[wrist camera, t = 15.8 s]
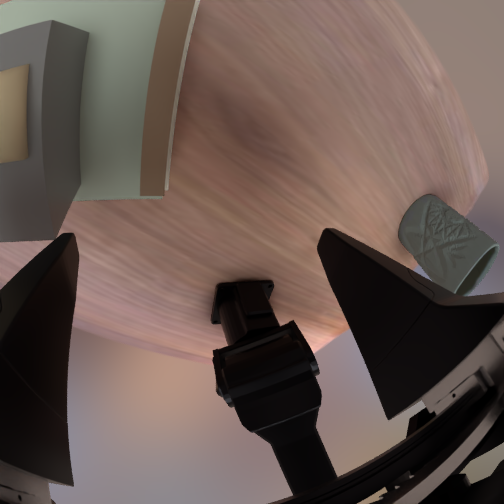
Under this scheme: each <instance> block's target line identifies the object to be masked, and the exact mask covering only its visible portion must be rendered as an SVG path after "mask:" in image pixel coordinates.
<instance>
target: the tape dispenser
mask: <svg viewBox="0 0 504 504" xmlns="http://www.w3.org/2000/svg"><path fill="white" fill-rule="evenodd" d="M88 37H89V32H87V31H84V30H81V29H79V28H76V27H73V26H70V25H67V24H64V23H61V22H58V21H55V20H48V21H44V22H40V23H36V24H32V25H28V26H25V27H21V28H18V29H15V30H12V31H8V32H6V33H3V34H0V242H17V241H41V240H55V239H56V237H57V235H58V232H59V230H60V228H61V225H62V223H63V221H64V219H65V216H66V214H67V212H68V210H69V208H70V205H71V203H72V201H73V199H74V197H75V195H76V193H77V191H78V189H79V187H80V185H81V173H80V104H81V90H82V79H83V70H84V62H85V55H86V49H87V43H88Z"/></svg>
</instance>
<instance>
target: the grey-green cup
mask: <svg viewBox="0 0 504 504" xmlns="http://www.w3.org/2000/svg"><path fill="white" fill-rule="evenodd" d="M399 239H400V241H401V243H402V244H403V245H404V247H405V248H406V249H407V250H408V251H409V253H411V254H412V255H413V256H414V259H415V260H417V263H418V264H419V265H420V266H421V267H422V269H423V270H424V271H425V273H426V274H427V275H428V276H429V278H430V279H431V280H432V281H433V282H434V283H436V284H438V285H440V286H442V287H444V288H445V289H447V290H449V291H451V292H453V293H455V294H457V295H460V296H468V295H469V294H470V293H471V292H472V291H473V290H474V289H475V288H476V287H477V285H478V284H479V283H480V282H481V281H482V279H483V278H484V277H485V275H486V274H487V273H488V271H489V269H490V268H491V266H492V264H493V263H494V261H495V259H496V257H497V254H498V251H499V244H498V243H497V242H496V241H494V240H493V239H492V238H491V237H490V236H488V235H487V234H486V233H484V232H483V231H480V230H479V228H478V227H477V226H475V225H474V224H473V223H472V222H470V221H469V220H468V219H465V218H464V216H462V215H460V214H459V213H458V212H457V211H456V210H454V209H453V208H451V207H450V206H448V205H447V204H446V203H444V202H443V201H442V200H440V199H439V198H438V197H436V196H434V195H431V194H430V195H429V194H428V195H424V196H422V197H421V198H419V199H418V200H416V201H415V202H414V203H413V204H412V205H411V206H410V208H409V209H408V210H407V212H406V213H405V215H404V217H403V219H402V221H401V224H400V227H399Z"/></svg>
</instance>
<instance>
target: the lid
mask: <svg viewBox="0 0 504 504" xmlns="http://www.w3.org/2000/svg"><path fill="white" fill-rule="evenodd" d="M195 1H196V0H12V1H10V2H7V3H5V4H2V5H0V34H3V33H6V32H8V31H12V30H15V29H18V28H21V27H25V26H28V25H32V24H36V23H40V22H44V21H48V20H55V21H58V22H61V23H64V24H67V25H70V26H73V27H76V28H79V29H81V30H84V31H87V32H89V37H88V43H87V49H86V55H85V62H84V70H83V79H82V90H81V104H80V173H81V185H80V187H79V189H78V191H77V193H76V195H75V197H74V199H73V201H87V200H118V199H162V196H164V192H165V178H166V166H167V155H168V146H169V137H170V128H171V121H172V113H173V106H174V100H175V93H176V87H177V81H178V76H179V70H180V65H181V60H182V55H183V50H184V45H185V41H186V36H187V32H188V28H189V24H190V20H191V16H192V12H193V8H194V4H195Z"/></svg>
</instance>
